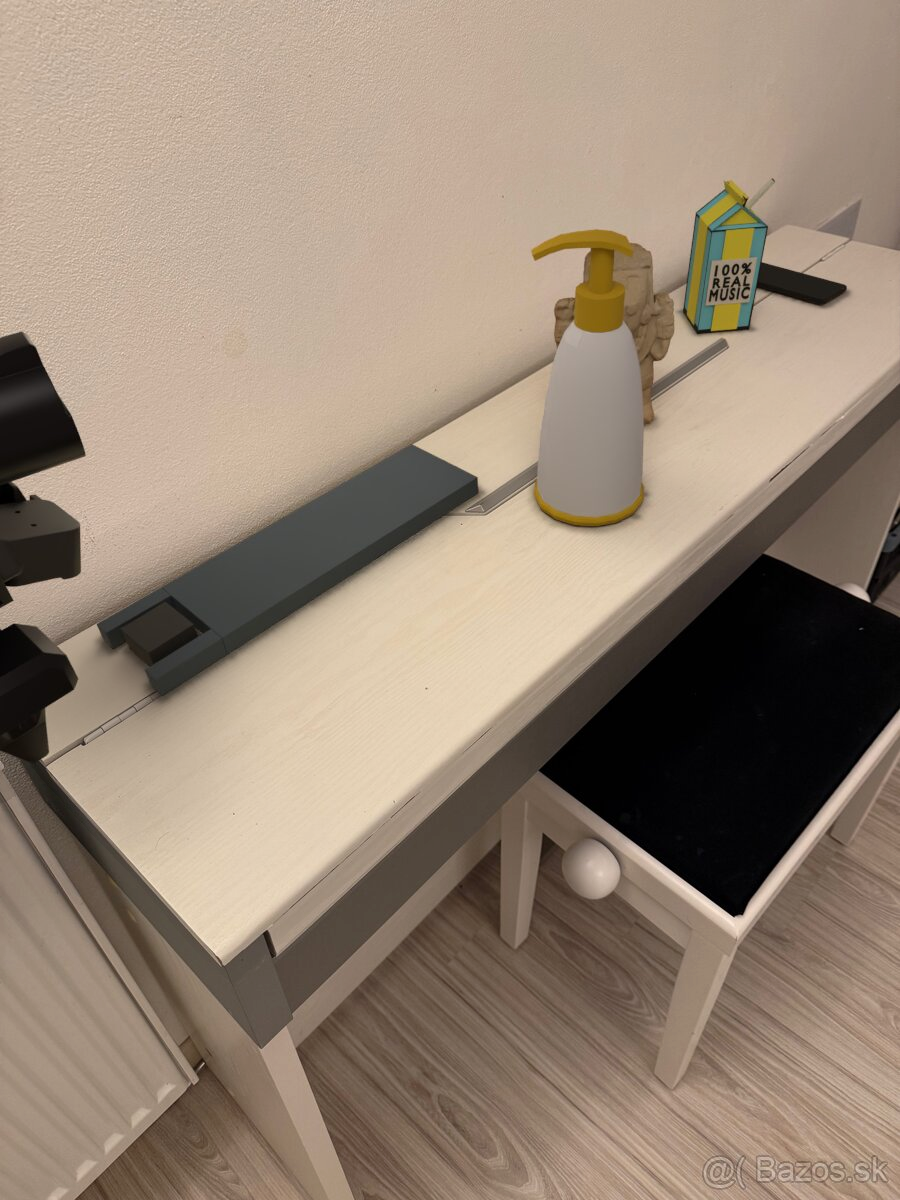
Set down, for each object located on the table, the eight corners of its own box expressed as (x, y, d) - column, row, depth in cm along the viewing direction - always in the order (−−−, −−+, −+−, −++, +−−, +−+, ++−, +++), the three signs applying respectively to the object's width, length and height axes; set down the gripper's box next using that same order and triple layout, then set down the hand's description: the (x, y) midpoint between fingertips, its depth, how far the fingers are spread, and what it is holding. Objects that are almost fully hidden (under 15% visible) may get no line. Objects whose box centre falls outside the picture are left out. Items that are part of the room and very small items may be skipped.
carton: (756, 329, 114) (784, 184, 102) (697, 334, 114) (718, 190, 102) (738, 306, 120) (762, 166, 107) (682, 311, 119) (700, 171, 107)
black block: (129, 648, 75) (120, 628, 74) (172, 621, 78) (165, 601, 76) (157, 673, 73) (148, 652, 71) (201, 644, 75) (193, 624, 74)
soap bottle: (525, 469, 93) (525, 216, 75) (633, 462, 92) (658, 207, 75) (535, 533, 84) (538, 265, 67) (653, 526, 84) (687, 255, 67)
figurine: (554, 441, 97) (559, 262, 83) (548, 408, 102) (552, 235, 89) (669, 434, 96) (693, 254, 83) (657, 402, 101) (677, 227, 88)
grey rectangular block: (162, 696, 71) (155, 680, 70) (103, 639, 77) (95, 623, 75) (478, 492, 90) (477, 477, 89) (413, 459, 95) (411, 443, 94)
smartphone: (755, 259, 129) (849, 285, 120) (754, 265, 130) (847, 291, 121) (728, 273, 126) (823, 300, 117) (727, 279, 126) (822, 306, 118)
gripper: (117, 514, 43) (197, 718, 53) (-41, 400, 53) (53, 590, 63) (-112, 635, 37) (28, 837, 47) (-240, 481, 47) (-101, 675, 57)
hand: (5, 718), depth 54 cm, fingers open, 9 cm apart
